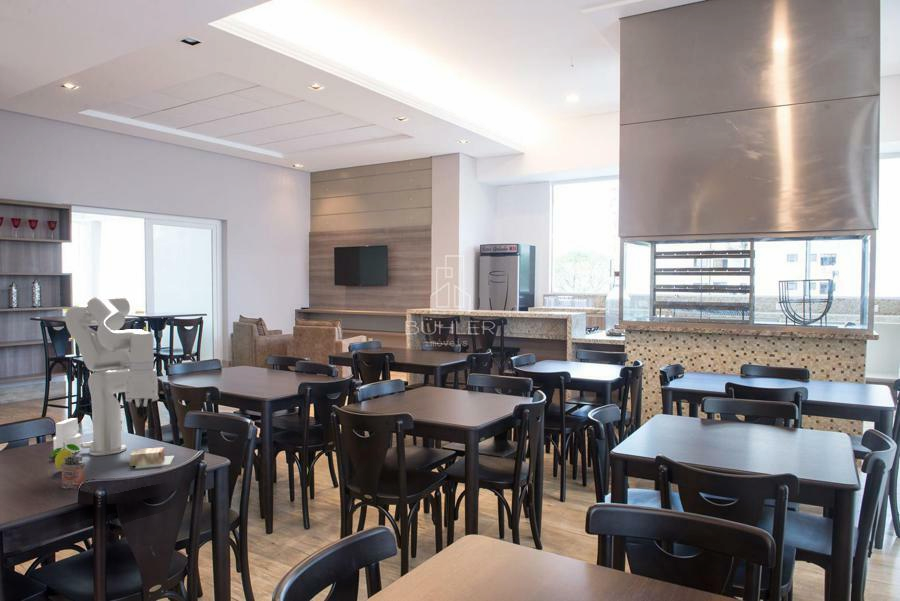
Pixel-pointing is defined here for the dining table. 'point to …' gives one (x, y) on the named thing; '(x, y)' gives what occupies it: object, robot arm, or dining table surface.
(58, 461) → the lemon
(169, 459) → the pale green square plate
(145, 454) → the maple block
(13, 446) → the dining table surface
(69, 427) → the cylinder with rectangular tab
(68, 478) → the small potted plant
